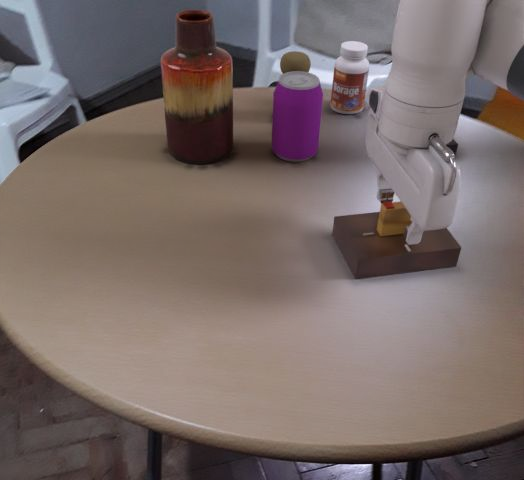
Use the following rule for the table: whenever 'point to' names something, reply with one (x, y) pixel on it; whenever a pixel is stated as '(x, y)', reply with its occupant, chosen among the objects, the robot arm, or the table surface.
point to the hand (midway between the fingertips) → (397, 220)
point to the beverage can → (296, 116)
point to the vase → (197, 92)
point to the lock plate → (390, 248)
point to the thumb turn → (393, 219)
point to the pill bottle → (350, 78)
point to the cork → (295, 62)
